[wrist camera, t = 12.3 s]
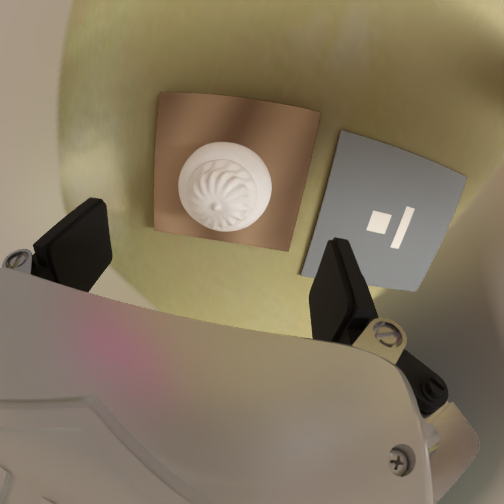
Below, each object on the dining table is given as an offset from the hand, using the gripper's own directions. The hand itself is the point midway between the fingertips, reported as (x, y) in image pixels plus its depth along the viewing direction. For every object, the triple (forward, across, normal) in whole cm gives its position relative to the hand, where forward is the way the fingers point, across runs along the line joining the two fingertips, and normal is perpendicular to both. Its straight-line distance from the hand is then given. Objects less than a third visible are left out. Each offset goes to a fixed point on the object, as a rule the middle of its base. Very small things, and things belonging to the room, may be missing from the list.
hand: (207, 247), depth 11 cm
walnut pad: (+12, +1, +1) cm, 12 cm away
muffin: (+11, +1, 0) cm, 11 cm away
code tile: (+13, -14, +3) cm, 19 cm away
